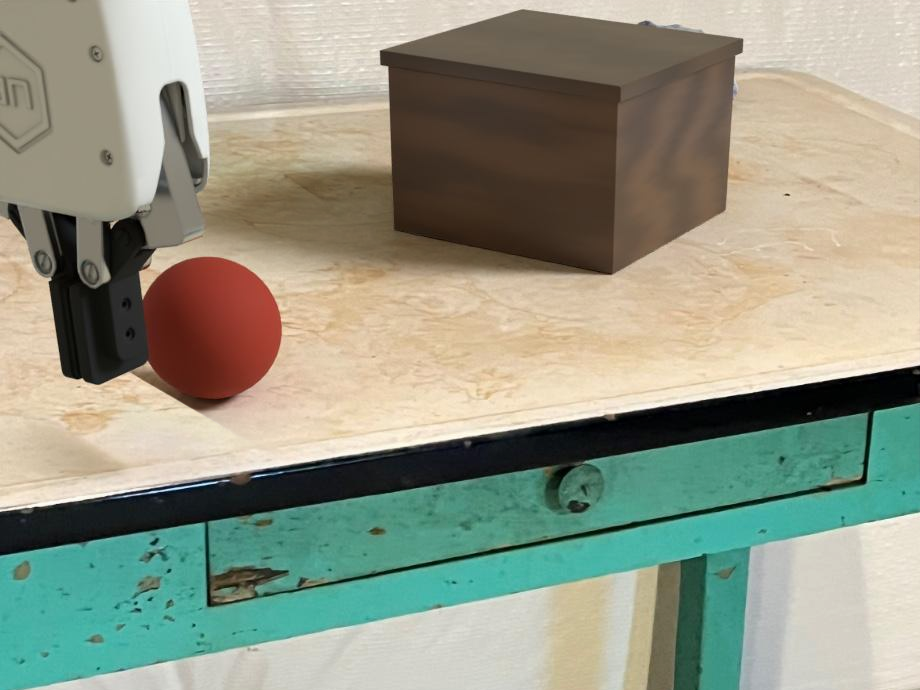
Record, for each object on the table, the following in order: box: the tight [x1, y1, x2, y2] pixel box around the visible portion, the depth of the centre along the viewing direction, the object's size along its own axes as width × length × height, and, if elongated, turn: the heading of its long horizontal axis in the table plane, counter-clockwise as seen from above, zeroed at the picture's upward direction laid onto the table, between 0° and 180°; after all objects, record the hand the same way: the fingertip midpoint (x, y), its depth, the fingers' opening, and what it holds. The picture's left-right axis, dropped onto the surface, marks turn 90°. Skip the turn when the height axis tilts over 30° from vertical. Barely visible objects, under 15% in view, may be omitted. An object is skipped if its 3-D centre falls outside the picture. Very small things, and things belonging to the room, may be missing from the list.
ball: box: [142, 256, 283, 400], centre depth 72 cm, size 6×6×6 cm
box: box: [379, 8, 744, 275], centre depth 95 cm, size 15×15×10 cm
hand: (106, 369), depth 67 cm, fingers closed
